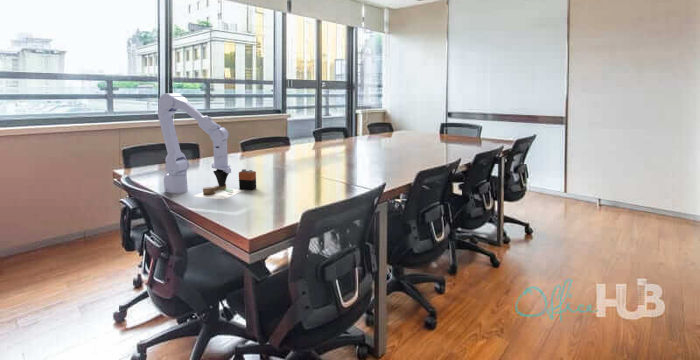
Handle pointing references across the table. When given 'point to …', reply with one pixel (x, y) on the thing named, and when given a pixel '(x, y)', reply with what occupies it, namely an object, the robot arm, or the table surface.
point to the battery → (247, 180)
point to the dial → (212, 190)
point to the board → (221, 193)
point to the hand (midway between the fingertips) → (221, 186)
